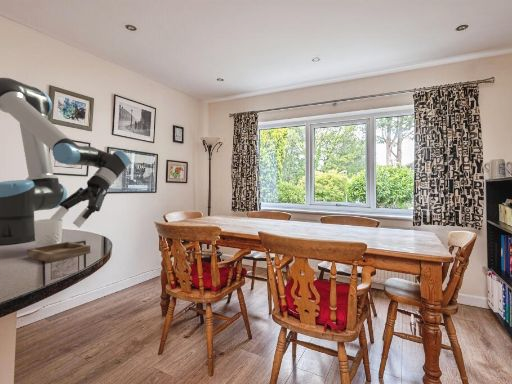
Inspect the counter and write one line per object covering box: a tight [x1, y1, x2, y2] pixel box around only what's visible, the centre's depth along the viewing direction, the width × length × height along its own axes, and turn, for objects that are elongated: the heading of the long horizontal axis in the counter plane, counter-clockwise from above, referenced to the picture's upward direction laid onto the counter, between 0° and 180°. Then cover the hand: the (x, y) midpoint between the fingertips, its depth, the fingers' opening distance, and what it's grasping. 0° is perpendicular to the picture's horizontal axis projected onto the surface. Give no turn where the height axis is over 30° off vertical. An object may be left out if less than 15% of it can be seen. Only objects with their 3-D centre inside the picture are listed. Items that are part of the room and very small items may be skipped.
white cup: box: [34, 218, 63, 248], centre depth 94 cm, size 8×8×10 cm
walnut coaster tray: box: [27, 241, 91, 264], centre depth 87 cm, size 12×12×2 cm
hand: (63, 223), depth 97 cm, fingers open, 13 cm apart
